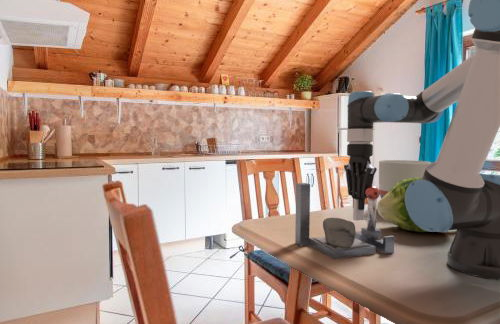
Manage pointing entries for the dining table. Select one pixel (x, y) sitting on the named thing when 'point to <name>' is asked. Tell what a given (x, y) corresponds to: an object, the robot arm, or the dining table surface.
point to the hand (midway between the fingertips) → (358, 219)
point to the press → (358, 248)
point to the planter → (398, 172)
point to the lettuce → (398, 206)
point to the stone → (339, 232)
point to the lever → (371, 214)
